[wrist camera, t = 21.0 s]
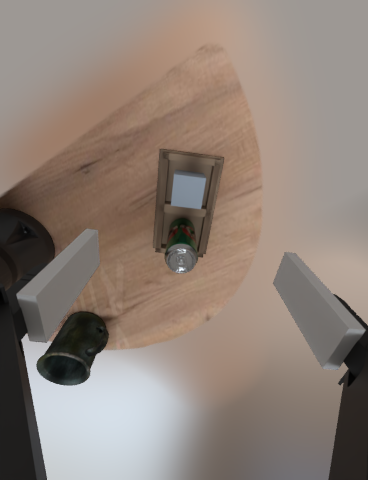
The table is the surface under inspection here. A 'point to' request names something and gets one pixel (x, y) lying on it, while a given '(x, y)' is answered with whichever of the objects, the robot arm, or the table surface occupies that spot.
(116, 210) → the table surface
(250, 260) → the table surface
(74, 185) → the table surface
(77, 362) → the mug
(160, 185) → the caddy
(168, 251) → the soda can
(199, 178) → the block
